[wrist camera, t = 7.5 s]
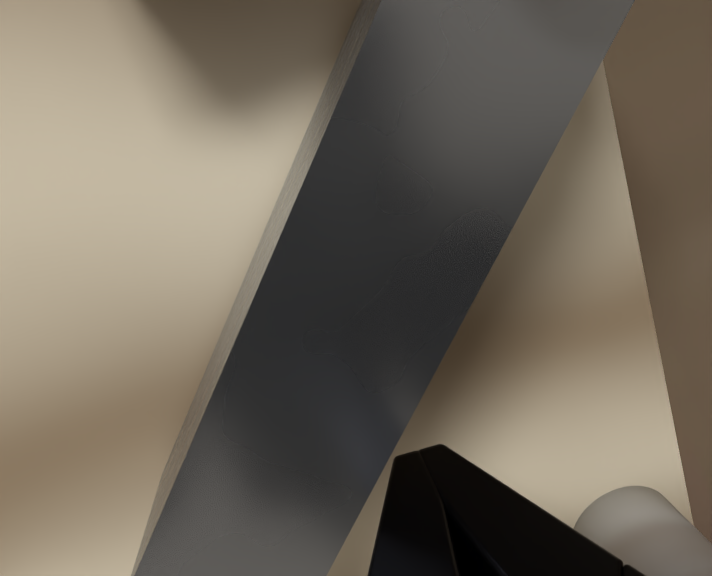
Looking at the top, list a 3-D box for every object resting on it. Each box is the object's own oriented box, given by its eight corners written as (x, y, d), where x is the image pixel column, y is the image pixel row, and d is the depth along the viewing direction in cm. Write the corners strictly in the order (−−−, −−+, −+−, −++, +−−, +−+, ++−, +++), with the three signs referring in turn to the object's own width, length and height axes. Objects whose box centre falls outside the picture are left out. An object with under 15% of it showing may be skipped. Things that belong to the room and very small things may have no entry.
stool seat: (653, 506, 13) (785, 645, 10) (110, 733, 13) (52, 955, 10) (475, -281, 8) (628, -578, 4) (-445, 84, 8) (-1014, 67, 4)
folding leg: (441, -191, 7) (573, -426, 4) (585, -93, 7) (797, -229, 4) (162, 471, 9) (108, 649, 6) (287, 506, 9) (294, 684, 7)
